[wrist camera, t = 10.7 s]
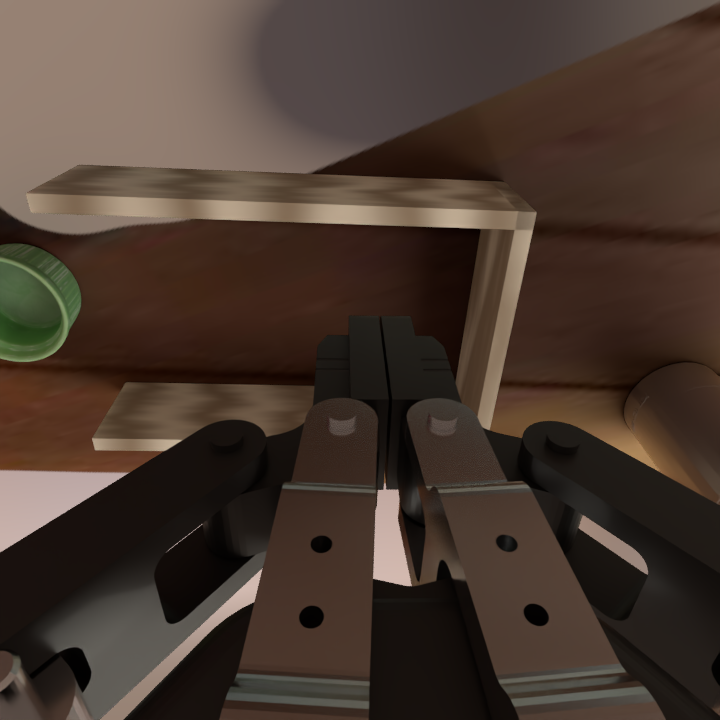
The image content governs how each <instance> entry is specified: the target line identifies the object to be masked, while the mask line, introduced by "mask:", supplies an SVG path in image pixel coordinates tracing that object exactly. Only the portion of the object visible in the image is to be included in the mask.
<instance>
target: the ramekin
mask: <svg viewBox="0 0 720 720" xmlns="http://www.w3.org/2000/svg"><path fill="white" fill-rule="evenodd" d="M80 308H81V293H80V289H79V286H78V284H77V282H76V280H75V278H74V276H73V274H72V273H71V272H70V271H69V269H68V268H67V267H66V266H65V265H64V264H63V263H62V262H61V261H60V260H58V259H57V258H56V257H54V256H53V255H51V254H50V253H48V252H46V251H44V250H42V249H40V248H38V247H34V246H31V245H27V244H16V243H14V244H4V245H0V358H1V359H5V360H10V361H17V362H30V361H36V360H40V359H43V358H46V357H48V356H50V355H52V354H53V353H54V352H56V351H57V350H58V349H59V348H60V347H61V346H62V345H63V343H64V341H65V339H66V337H67V335H68V332H69V329H70V327H71V326H72V324H73V323H74V321H75V320H76V318H77V315H78V314H79V311H80Z"/></svg>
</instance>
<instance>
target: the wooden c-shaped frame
mask: <svg viewBox="0 0 720 720" xmlns="http://www.w3.org/2000/svg"><path fill="white" fill-rule="evenodd" d="M26 197H27V201H28V204H29V208H30V212H31V213H48V214H77V215H105V216H134V217H162V218H191V219H219V220H248V221H276V222H305V223H334V224H362V225H391V226H419V227H448V228H477V229H481V232H480V238H479V244H478V250H477V256H476V262H475V268H474V274H473V280H472V286H471V292H470V298H469V304H468V310H467V316H466V322H465V328H464V334H463V340H462V346H461V352H460V358H459V365H458V371H457V377H456V386H457V389H458V393H459V396H460V399H461V402H462V404H464V405H465V406H467V407H469V408H470V409H471V410H472V411H473V412H474V413H475V414H476V416H477V417H478V419H479V422H480V424H481V426H482V427H483V428H485V429H487V430H490V426H491V421H492V417H493V412H494V407H495V403H496V398H497V394H498V389H499V384H500V380H501V375H502V370H503V366H504V361H505V357H506V352H507V347H508V343H509V338H510V334H511V329H512V324H513V320H514V315H515V311H516V306H517V301H518V297H519V292H520V287H521V283H522V278H523V274H524V269H525V264H526V260H527V255H528V251H529V246H530V241H531V237H532V232H533V228H534V223H535V218H536V214H537V212H536V211H535V210H534V209H533V208H532V207H531V206H530V205H529V204H528V203H527V202H525V201H524V200H523V199H522V198H521V197H520V196H519V195H518V194H517V193H516V192H515V191H514V190H513V189H512V188H511V187H509V186H508V185H507V184H506V183H505V182H499V181H474V180H449V179H424V178H398V177H373V176H348V175H323V174H297V173H271V172H247V171H222V170H196V169H171V168H169V169H168V168H145V167H120V166H94V165H78V166H76V167H74V168H72V169H70V170H68V171H67V172H65V173H63V174H61V175H59V176H57V177H55V178H53V179H52V180H50V181H48V182H46V183H44V184H42V185H40V186H38V187H36V188H35V189H33V190H31V191H29V192H27V193H26ZM313 397H314V386H295V385H243V384H192V383H140V382H126V383H125V385H124V386H123V388H122V390H121V391H120V393H119V395H118V396H117V398H116V400H115V401H114V403H113V405H112V406H111V408H110V410H109V411H108V413H107V415H106V416H105V418H104V420H103V421H102V423H101V425H100V426H99V428H98V430H97V431H96V433H95V435H94V436H93V438H92V440H93V443H94V447H95V450H127V451H166V450H167V449H169V448H171V447H172V446H174V445H175V444H177V443H179V442H180V441H182V440H184V439H185V438H187V437H188V436H190V435H192V434H193V433H195V432H196V431H198V430H200V429H201V428H203V427H205V426H207V425H209V424H212V423H215V422H218V421H223V420H232V419H234V420H245V421H248V422H252V423H254V424H256V425H257V426H259V427H260V428H261V429H262V430H263V431H264V433H265V435H266V437H268V436H272V435H277V434H281V433H285V432H288V431H290V430H293V429H295V428H297V427H299V426H300V425H302V424H303V423H304V422H305V418H306V415H307V413H308V411H309V410H310V409H311V408H312V407H313Z"/></svg>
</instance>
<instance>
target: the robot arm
mask: <svg viewBox="0 0 720 720" xmlns="http://www.w3.org/2000/svg"><path fill="white" fill-rule="evenodd" d="M624 418H625V421H626V424H627V426H628V427H629V428H630V430H631V431H632V433H633V434H634V435H635V437H636V438H637V440H638V441H639V442H640V444H641V445H642V447H643V448H644V450H645V451H646V453H647V454H648V455H649V457H650V458H651V460H652V461H653V462H654V464H655V465H656V466H657V468H658V469H659V471H660V472H661V473H660V472H658V471H657V470H655V469H653V468H651V467H649V466H647V465H646V464H644V463H642V462H640V461H638V460H637V459H635V458H633V457H631V456H629V455H627V454H626V453H624V452H622V451H620V450H618V449H617V448H615V447H613V446H611V445H609V444H607V443H606V442H604V441H602V440H600V439H598V438H596V437H595V436H593V435H591V434H589V433H587V432H586V431H584V430H582V429H580V428H578V427H575V426H573V425H570V424H566V423H562V422H556V421H543V422H538V423H534V424H532V425H530V426H529V427H528V428H526V430H525V431H524V433H523V437H522V438H518V437H514V436H509V435H504V434H500V433H496V432H493V431H490V430H487V429H485V428H483V427H482V426H481V424H480V422H479V419H478V417H477V416H476V414H475V413H474V412H473V411H472V410H471V409H470V408H469V407H467V406H465V405H464V404H462V402H461V399H460V396H459V393H458V389H457V386H456V383H455V380H454V377H453V374H452V372H451V367H450V364H449V361H448V358H447V355H446V352H445V349H444V346H443V345H441V344H440V343H439V342H438V341H437V340H436V339H435V338H434V337H433V336H415V332H414V328H413V324H412V320H411V316H381V317H380V323H379V316H349V335H327V336H326V337H325V338H324V339H323V341H322V342H321V343H320V344H319V345H318V348H317V361H316V373H315V385H314V397H313V407H312V408H311V409H310V410H309V411H308V413H307V415H306V418H305V422H304V423H303V424H302V425H300V426H299V427H297V428H295V429H293V430H290V431H288V432H285V433H281V434H277V435H272V436H268V437H266V435H265V433H264V431H263V430H262V429H261V428H260V427H259V426H257V425H256V424H254V423H252V422H248V421H245V420H234V419H232V420H223V421H218V422H215V423H212V424H209V425H207V426H205V427H203V428H201V429H200V430H198V431H196V432H195V433H193V434H192V435H190V436H188V437H187V438H185V439H184V440H182V441H180V442H179V443H177V444H175V445H174V446H172V447H171V448H169V449H167V450H166V451H164V452H162V453H161V454H159V455H158V456H156V457H154V458H153V459H151V460H149V461H148V462H146V463H145V464H143V465H141V466H140V467H138V468H137V469H135V470H133V471H132V472H130V473H128V474H127V475H125V476H124V477H122V478H120V479H119V480H117V481H116V482H114V483H112V484H111V485H109V486H108V487H106V488H104V489H102V490H101V491H99V492H98V493H96V494H94V495H93V496H91V497H90V498H88V499H86V500H85V501H83V502H81V503H80V504H78V505H77V506H75V507H73V508H72V509H70V510H68V511H67V512H66V513H64V514H62V515H60V516H59V517H57V518H56V519H54V520H52V521H51V522H49V523H47V524H46V525H44V526H43V527H41V528H39V529H38V530H36V531H34V532H33V533H31V534H30V535H28V536H27V537H25V538H23V539H21V540H20V541H18V542H17V543H15V544H14V545H12V546H10V547H8V548H7V549H5V550H4V551H2V552H0V720H100V719H101V718H102V717H103V716H104V715H105V714H106V713H107V712H108V711H109V710H110V709H111V708H112V707H114V706H115V705H116V704H117V703H118V702H119V701H120V700H121V699H122V698H123V697H124V696H125V695H127V694H128V693H129V692H130V691H131V690H132V689H133V688H134V687H135V686H136V685H137V684H138V683H139V682H141V681H142V680H143V679H144V678H145V677H146V676H147V675H148V674H149V673H150V672H151V671H152V670H153V669H154V668H155V667H157V665H159V664H160V663H161V662H162V661H163V660H164V659H165V658H166V657H167V656H168V655H169V654H170V653H172V652H173V651H174V650H175V649H176V648H177V647H178V646H179V645H180V644H181V643H182V642H183V641H185V640H186V639H187V638H188V637H189V636H190V635H191V634H192V633H193V632H194V631H195V630H196V629H197V628H198V627H200V626H201V625H202V624H203V623H204V622H205V621H206V620H207V619H208V618H209V617H210V616H211V615H212V614H214V613H215V612H216V611H217V610H218V609H219V608H220V607H221V606H222V605H223V604H224V603H225V602H226V601H227V600H229V598H231V597H232V596H233V595H234V594H235V593H236V592H237V591H238V590H239V589H240V588H241V587H243V585H245V584H246V583H247V582H248V581H249V580H250V579H251V578H252V577H253V576H254V575H255V574H256V573H258V572H259V571H260V570H261V569H262V568H263V569H262V573H261V577H260V582H259V586H258V590H257V594H256V599H255V602H254V603H252V604H250V605H248V606H246V607H244V608H242V609H240V610H239V611H237V612H235V613H234V614H233V615H231V616H229V617H228V618H226V619H225V620H224V621H223V622H221V623H220V624H219V625H218V626H216V627H215V628H214V629H213V630H212V631H211V632H210V633H209V634H208V635H207V636H206V637H205V638H204V639H203V640H202V641H201V642H200V643H199V644H198V645H197V646H196V647H195V648H194V649H193V650H192V651H191V652H190V653H189V654H188V655H187V656H186V657H185V658H184V659H183V660H182V661H181V662H180V663H179V664H178V665H177V666H176V667H175V668H174V669H173V670H172V671H171V672H170V673H169V674H168V675H167V676H166V677H165V678H164V679H163V680H162V681H161V682H160V683H159V684H158V685H157V686H156V687H155V688H154V689H153V690H152V691H151V692H150V693H149V694H148V695H147V696H146V697H145V698H144V700H142V701H141V702H140V703H139V704H138V706H136V708H135V709H134V710H133V711H132V712H131V713H130V714H129V715H128V716H127V717H126V718H125V719H124V720H720V376H718V375H717V374H716V373H715V372H714V371H712V370H711V369H710V368H708V367H706V366H704V365H702V364H697V363H687V362H684V363H677V364H672V365H669V366H665V367H663V368H660V369H658V370H656V371H654V372H652V373H651V374H649V375H648V376H646V377H645V378H644V379H642V380H641V381H640V382H639V383H638V384H637V385H636V386H635V387H634V389H633V390H632V391H631V393H630V394H629V396H628V398H627V400H626V403H625V407H624ZM384 471H385V479H386V489H398V490H399V498H400V502H399V514H398V522H399V526H400V531H401V536H402V540H403V546H404V550H405V555H406V560H407V565H408V570H409V574H410V578H411V584H412V586H403V585H399V584H394V583H389V582H385V581H380V580H375V579H373V564H374V562H373V561H374V534H375V533H374V532H375V531H374V530H375V510H376V506H377V492H378V490H383V486H384ZM582 515H584V516H586V517H587V518H589V519H590V520H592V521H593V522H595V523H596V524H598V525H599V526H601V527H602V528H604V529H605V530H607V531H608V532H610V533H611V534H613V535H614V536H616V537H617V538H619V539H620V540H622V541H623V542H625V543H626V544H628V545H630V546H631V547H632V548H634V549H635V550H636V551H637V552H638V553H639V554H640V555H641V556H642V557H643V559H644V560H645V562H646V564H647V567H648V575H647V574H645V573H643V572H641V571H640V570H639V569H637V568H635V567H634V566H633V565H631V564H630V563H628V562H627V561H625V560H624V559H622V558H621V557H620V556H618V555H617V554H615V553H614V552H612V551H611V550H609V549H608V548H606V547H605V546H603V545H602V544H601V543H599V542H598V541H596V540H595V539H593V538H592V537H590V536H589V535H587V534H586V533H584V532H583V531H581V530H580V529H579V528H578V527H579V524H580V521H581V518H582ZM201 524H202V525H201ZM200 525H201V526H200ZM199 526H200V527H199ZM197 527H199V528H197ZM196 528H197V529H196ZM195 529H196V530H195ZM193 530H195V531H193ZM192 531H193V532H192ZM191 532H192V533H191ZM189 533H191V534H190V535H188V534H189ZM187 535H188V536H187ZM185 536H187V537H186V538H184V537H185ZM183 538H184V539H183ZM182 539H183V540H182ZM180 540H182V541H180ZM179 541H180V542H179ZM178 542H179V543H178ZM176 543H178V544H177V545H175V544H176ZM174 545H175V546H174ZM173 546H174V547H173ZM171 547H173V548H171ZM170 548H171V549H170ZM169 549H170V550H169ZM168 550H169V551H168Z"/></svg>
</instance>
